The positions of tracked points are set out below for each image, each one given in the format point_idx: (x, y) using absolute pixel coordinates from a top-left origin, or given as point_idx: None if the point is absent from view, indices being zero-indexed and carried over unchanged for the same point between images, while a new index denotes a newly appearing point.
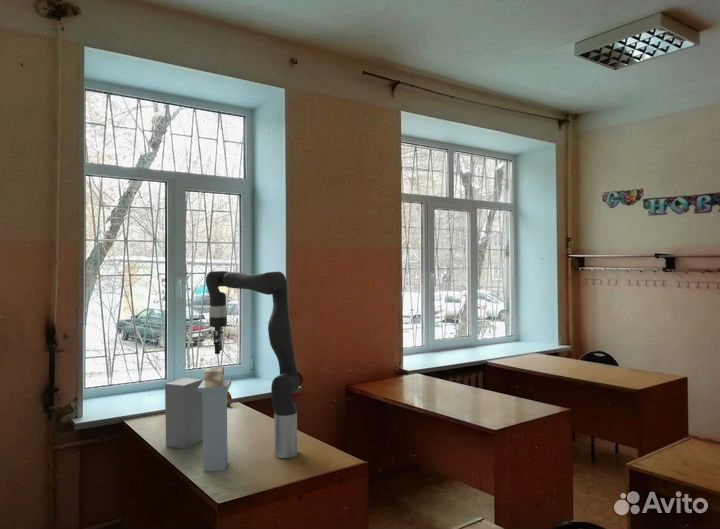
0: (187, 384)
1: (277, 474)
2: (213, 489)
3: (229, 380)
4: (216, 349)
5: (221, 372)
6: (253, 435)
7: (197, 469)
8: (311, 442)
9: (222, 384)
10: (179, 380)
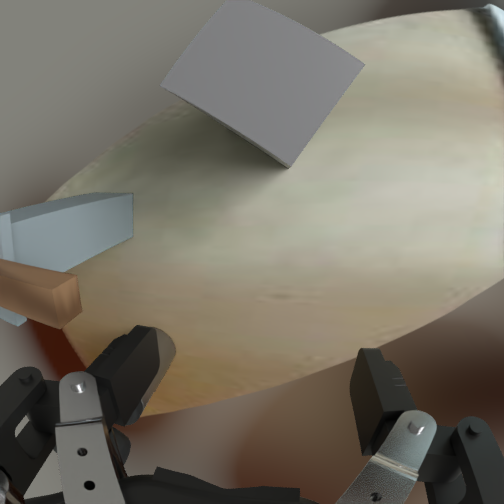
0: (183, 98)
1: (80, 315)
2: None
3: (8, 318)
4: (102, 362)
5: None
6: (289, 298)
7: (104, 179)
8: (213, 394)
9: None
10: (294, 43)
